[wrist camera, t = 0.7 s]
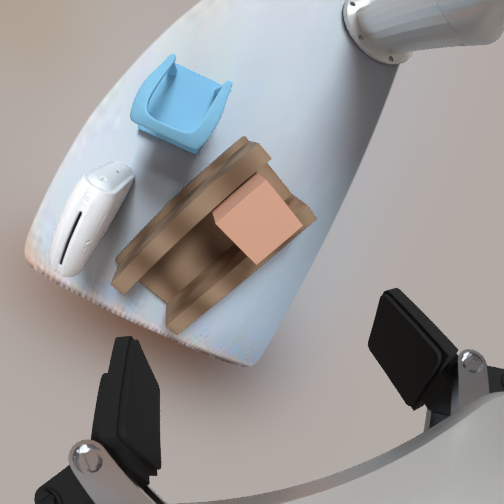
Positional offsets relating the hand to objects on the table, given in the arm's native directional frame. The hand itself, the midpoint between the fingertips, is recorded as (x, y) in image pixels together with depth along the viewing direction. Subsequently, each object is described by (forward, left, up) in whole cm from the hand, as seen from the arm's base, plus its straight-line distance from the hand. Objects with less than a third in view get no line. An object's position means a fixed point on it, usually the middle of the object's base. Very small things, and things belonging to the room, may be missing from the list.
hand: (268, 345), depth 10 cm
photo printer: (+10, -8, -26) cm, 29 cm away
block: (-2, +4, -25) cm, 25 cm away
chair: (-4, -9, -26) cm, 28 cm away
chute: (+4, +4, -26) cm, 26 cm away
